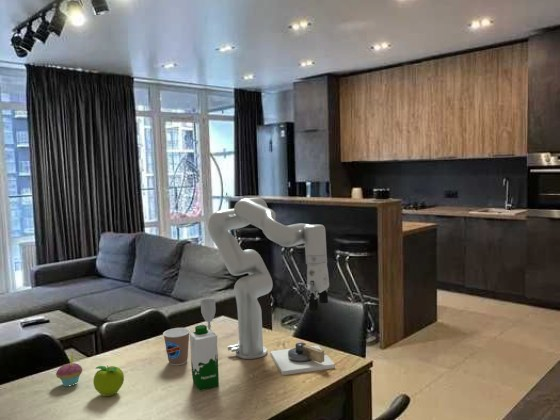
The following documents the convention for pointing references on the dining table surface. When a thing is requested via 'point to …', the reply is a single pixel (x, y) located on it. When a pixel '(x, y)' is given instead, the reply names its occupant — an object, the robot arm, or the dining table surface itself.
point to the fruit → (108, 380)
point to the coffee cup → (177, 345)
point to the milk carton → (204, 358)
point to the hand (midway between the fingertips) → (318, 306)
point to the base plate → (298, 363)
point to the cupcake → (69, 373)
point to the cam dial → (305, 353)
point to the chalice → (208, 310)
